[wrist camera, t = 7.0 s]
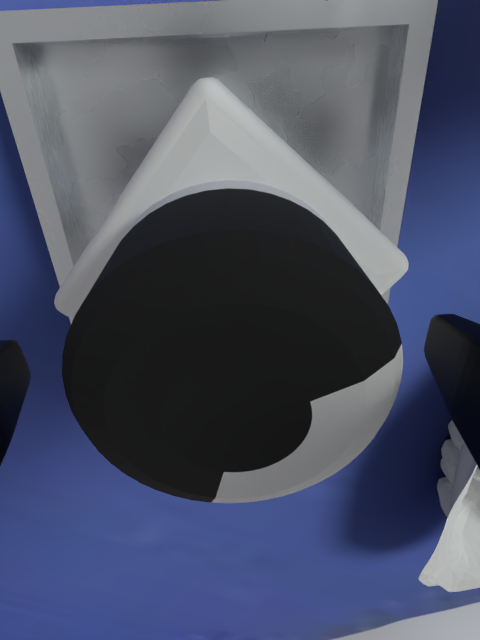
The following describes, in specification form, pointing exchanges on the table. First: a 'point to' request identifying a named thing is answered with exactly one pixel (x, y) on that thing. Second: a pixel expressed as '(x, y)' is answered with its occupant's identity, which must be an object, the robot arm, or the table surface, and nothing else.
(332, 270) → the medicine bottle
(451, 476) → the dental model
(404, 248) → the table surface
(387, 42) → the tray
